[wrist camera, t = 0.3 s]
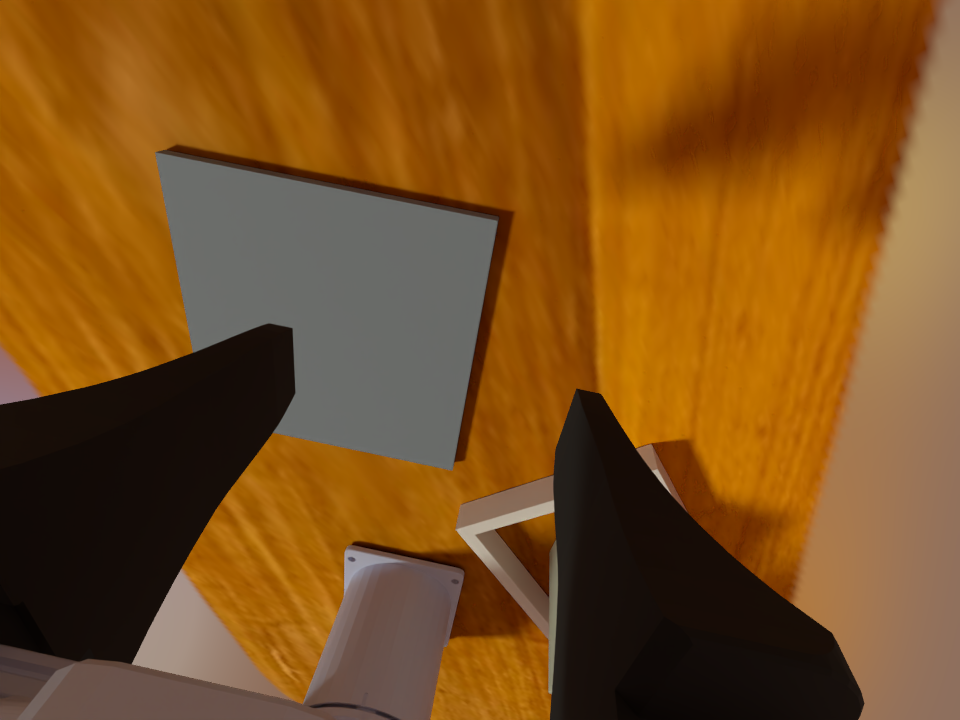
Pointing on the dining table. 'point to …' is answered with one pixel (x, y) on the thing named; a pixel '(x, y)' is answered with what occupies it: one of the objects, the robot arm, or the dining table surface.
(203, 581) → the dining table surface
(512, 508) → the rectangular frame
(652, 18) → the dining table surface
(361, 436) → the mat
